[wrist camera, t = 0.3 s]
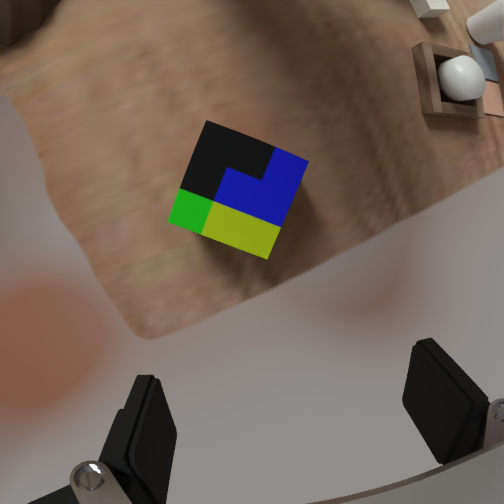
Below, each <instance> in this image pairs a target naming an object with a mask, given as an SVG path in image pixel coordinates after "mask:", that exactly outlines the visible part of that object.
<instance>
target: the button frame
mask: <svg viewBox="0 0 504 504" xmlns="http://www.w3.org/2000/svg"><path fill="white" fill-rule="evenodd" d="M412 53H413V58H414V63H415V68H416V74H417V80H418V86H419V93H420V100H421V108H422V114H428V115H440V116H450V117H460V118H468V119H480V118H485V114H484V106H483V99H482V96H481V97H480V98H476V99H470V100H465V101H464V105H461V104H454V103H446V102H441V98H440V91H439V85H438V79H437V73H436V67H435V62H434V61H439V62H445V61H448V60H450V59H453V58H456V57H458V56H462V55H465V56H468V57H470V58H472V59H473V60H475V55H474V54H472V53H468V52H465V51H461V50H457V49H453V48H448V47H444V46H439V45H434V44H429V43H424V42H421V43H419V44H417V45H416V46H414V47H412ZM475 61H476V60H475Z"/></svg>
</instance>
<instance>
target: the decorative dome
mask: <svg viewBox="0 0 504 504" xmlns="http://www.w3.org/2000/svg"><path fill="white" fill-rule="evenodd" d="M59 1H60V0H0V43H1V44H3V45H5V46H7V47H11V46H12V45H13V44H14V43H15V42H16V41H17V40H18V39H19V38H20V37H21V36H22V35H23V34H25V33H27V32H30V31H33V30H35V29H38V28H39V27H40V26H41V25H42V23H43V21H44V19H45V17H46V16H47V14H48V12H49V10H50V9H51V8H52V7H53V6H54V5H55V4H57V3H58V2H59Z"/></svg>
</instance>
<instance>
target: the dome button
mask: <svg viewBox="0 0 504 504" xmlns="http://www.w3.org/2000/svg"><path fill="white" fill-rule="evenodd" d="M437 79H438V83H439V86H440V88H441V89H442V91H443V92H444V94H445V95H446V96H447V97H448V98H450V99H451V100H453V101H465V100H470V99H476V98H480V97H481V96H482V95H483V94H484V92H485V88H486V82H485V77H484V74H483V72H482V70H481V68H480V66H479V65H478V64H477V62H476V61H475V60H473V59H472V58H470V57H468V56H465V55H462V56H458V57H456V58H453V59H450V60H448V61H445V62H443V63H441V64H440V65H439V67H438V70H437Z"/></svg>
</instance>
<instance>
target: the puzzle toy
mask: <svg viewBox="0 0 504 504" xmlns="http://www.w3.org/2000/svg"><path fill="white" fill-rule="evenodd" d="M308 163H309V161H307V160H305V159H303V158H300V157H298V156H296V155H293V154H291V153H289V152H286V151H284V150H282V149H279V148H277V147H275V146H272V145H270V144H267V143H265V142H262V141H260V140H257V139H255V138H252V137H250V136H247V135H245V134H242V133H240V132H237V131H234V130H232V129H229V128H226V127H224V126H221V125H218V124H216V123H213V122H210V121H207V120H206V122H205V125H204V127H203V130H202V132H201V135H200V137H199V139H198V142H197V144H196V147H195V149H194V152H193V154H192V157H191V160H190V162H189V165H188V167H187V170H186V173H185V175H184V178H183V181H182V183H181V186H180V189H179V191H178V194H177V197H176V200H175V203H174V205H173V208H172V211H171V214H170V217H169V220H168V222H169V223H172V224H175V225H177V226H180V227H182V228H185V229H188V230H190V231H193V232H196V233H198V234H201V235H204V236H206V237H209V238H212V239H214V240H217V241H219V242H222V243H225V244H227V245H230V246H233V247H235V248H238V249H241V250H243V251H246V252H249V253H251V254H254V255H257V256H259V257H262V258H264V259H268V256H269V254H270V252H271V250H272V247H273V245H274V243H275V240H276V238H277V236H278V233H279V231H280V229H281V226H282V224H283V222H284V219H285V217H286V215H287V212H288V210H289V208H290V205H291V203H292V200H293V198H294V196H295V193H296V191H297V189H298V186H299V184H300V182H301V179H302V177H303V174H304V172H305V170H306V167H307V165H308Z"/></svg>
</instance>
